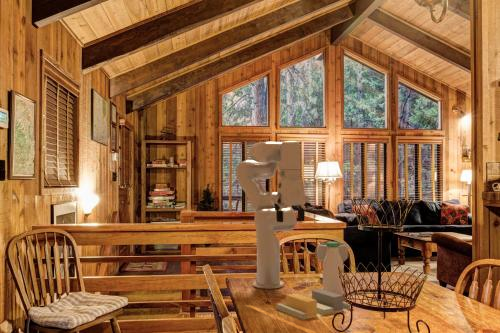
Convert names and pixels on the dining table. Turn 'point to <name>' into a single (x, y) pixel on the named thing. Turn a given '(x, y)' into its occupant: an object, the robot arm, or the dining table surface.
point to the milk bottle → (332, 269)
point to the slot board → (320, 312)
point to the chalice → (323, 251)
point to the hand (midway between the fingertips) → (290, 221)
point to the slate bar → (328, 299)
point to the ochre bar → (302, 303)
